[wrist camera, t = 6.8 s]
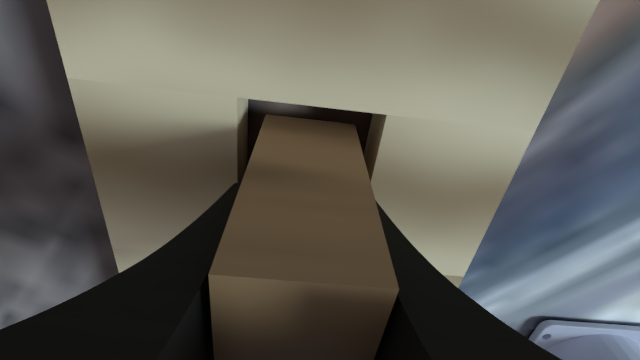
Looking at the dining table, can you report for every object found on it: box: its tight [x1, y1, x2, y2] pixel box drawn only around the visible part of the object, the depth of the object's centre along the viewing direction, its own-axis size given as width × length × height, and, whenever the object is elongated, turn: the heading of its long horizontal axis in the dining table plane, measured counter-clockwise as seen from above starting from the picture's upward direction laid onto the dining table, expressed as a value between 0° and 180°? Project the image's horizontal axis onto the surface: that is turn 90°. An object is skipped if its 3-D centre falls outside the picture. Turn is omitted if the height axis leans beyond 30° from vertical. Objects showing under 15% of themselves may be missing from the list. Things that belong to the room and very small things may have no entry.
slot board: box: [46, 0, 599, 288], centre depth 14 cm, size 22×14×2 cm, turn 173°
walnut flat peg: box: [208, 114, 399, 360], centre depth 10 cm, size 5×3×7 cm, turn 173°
